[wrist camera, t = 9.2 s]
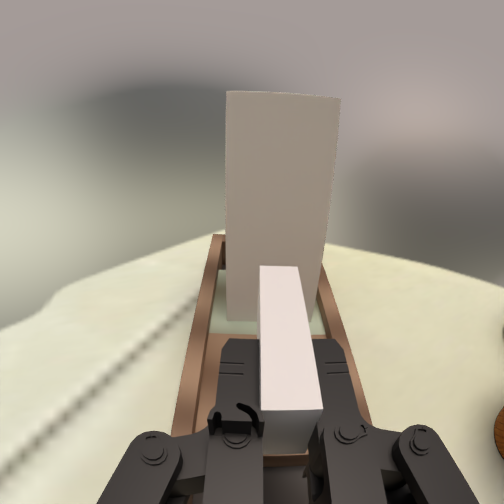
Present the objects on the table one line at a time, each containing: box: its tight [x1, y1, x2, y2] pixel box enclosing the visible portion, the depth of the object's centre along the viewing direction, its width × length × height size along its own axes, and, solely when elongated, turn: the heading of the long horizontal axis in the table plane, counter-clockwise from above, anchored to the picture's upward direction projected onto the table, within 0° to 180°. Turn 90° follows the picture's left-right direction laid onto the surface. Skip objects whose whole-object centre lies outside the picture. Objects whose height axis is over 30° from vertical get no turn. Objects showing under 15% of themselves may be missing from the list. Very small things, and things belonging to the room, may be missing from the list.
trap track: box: [171, 234, 373, 504], centre depth 20 cm, size 28×10×3 cm, turn 0°
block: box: [225, 91, 341, 322], centre depth 22 cm, size 7×6×15 cm
